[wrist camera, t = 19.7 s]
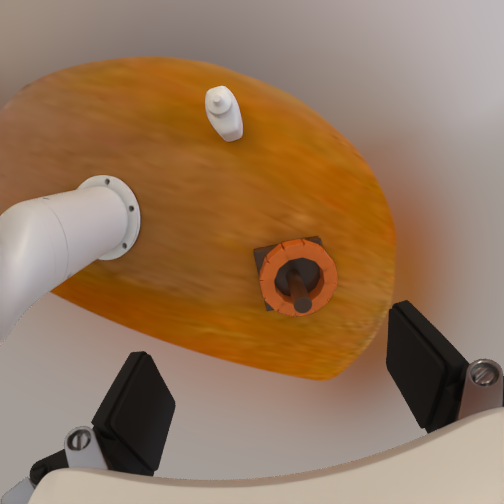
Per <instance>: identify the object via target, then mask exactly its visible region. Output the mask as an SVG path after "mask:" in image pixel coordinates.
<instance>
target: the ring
mask: <svg viewBox="0 0 504 504" xmlns="http://www.w3.org/2000/svg"><path fill="white" fill-rule="evenodd" d="M282 244H283V246H282V245H281V244H279V245H278V246H276V247H275V248H274V249H273V250H272V251H271V252H269V253H268V254H267V257H265V259H264V261H263V264H262V267H261V270H260V275H259V278H260V285H261V290H262V294H263V298H264V300H265V301H266V302H267V303H268V304H269V305H270V306H271V307H272V308H273V309H274V310H275V311H277V310H278V313H282V314H286V315H290V316H293V317H294V316H295V314H296V317H298V316H302V315H307V314H312V313H313V311H314V312H316V311H318V310H319V309H320V308H321V307H323V306H324V305H325V304H327V303H328V302H329V301H328V299H329V300H330V299H331V297H332V295H333V293H334V290H335V288H336V286H337V282H338V280H337V270H336V265H335V263H334V262H333V260H332V259H331V258H330V257H329V255H328V254H327V253H326V252H325V250H324V249H323V248H322V247H321V246H319V245H318V244H316V243H313V242H310V241H307V240H304V239H302V241H301V240H300V239H296V240H291V241H286V242H282ZM302 257H303V258H306V259H309V260H312V261H315V262H316V263H317V264H318V265H319V268H320V275H321V277H320V279H319V282H318V284H317V286H316V288H314V289H313V290H312V291H311V292H310V293H308V294H309V297H310V299H311V301H312V307H311V309H310V310H309V311H308V312H306V313H298V312H297V311H296V310H295V309H294V305H293V302H292V298H291V296H287V295H284V294H282V293H281V292H280V291H279V289H278V288H277V287H276V286H275V283H274V280H275V277H276V275H277V272H278V269H279V268H280V267H281V266H283V265H284V264H285V263H286V262H287V261H289V260H293V259H298V258H302Z"/></svg>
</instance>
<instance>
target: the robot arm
mask: <svg viewBox="0 0 504 504" xmlns="http://www.w3.org/2000/svg"><path fill="white" fill-rule="evenodd" d="M109 180H110V183H109ZM133 207H134V209H133ZM139 230H140V210H139V206H138V203H137V200H136V198H135V196H134V194H133V192H132V191H131V189H130V188H129V187H128V186H127V185H126V184H125V183H124V182H122V181H121V180H120V179H118V178H115V177H113V176H108V175H100V176H94V177H91V178H89V179H87V180H86V181H84V182H83V183H82V184H81V185H80V186H79V187H78V188H77V190H74V191H69V192H64V193H59V194H54V195H49V196H45V197H40V198H36V199H32V200H27V201H23V202H20V203H17V204H15V205H13V206H12V207H10V208H9V209H7V210H6V211H5V212H4V213H3V214H2V215H1V216H0V346H1V344H2V343H3V342H4V340H5V339H6V338H7V336H8V335H9V334H10V332H11V331H12V329H13V328H14V326H15V325H16V323H17V322H18V321H19V320H20V318H21V317H22V315H24V313H25V312H26V311H27V310H28V309H29V308H30V307H31V306H32V305H33V304H34V303H35V302H37V301H38V300H39V299H40V298H41V297H43V296H44V295H45V294H47V293H48V292H49V291H51V290H52V289H53V288H55V287H56V286H58V285H59V284H61V283H62V282H64V281H65V280H67V279H68V278H69V277H71V276H72V275H74V274H75V273H77V272H78V271H80V270H81V269H83V268H84V267H86V266H87V265H89V264H90V263H92V262H93V261H95V260H96V259H100V260H112V259H116V258H118V257H120V256H122V255H123V254H125V253H126V252H127V251H128V250H129V249H130V248H131V247H132V246H133V244H134V243H135V241H136V239H137V236H138V233H139ZM126 244H127V245H126ZM386 365H387V369H388V371H389V373H390V374H391V376H392V378H393V380H394V381H395V383H396V385H397V386H398V388H399V390H400V391H401V394H402V395H403V397H404V399H405V401H406V402H407V404H408V406H409V408H410V410H411V411H412V413H413V415H414V417H415V419H416V421H417V422H418V424H419V426H420V427H421V428H425V429H426V431H427V433H428V434H427V435H425V436H422V437H420V438H418V439H415V440H413V441H411V442H408V443H405V444H403V445H401V446H397V447H395V448H392V449H389V450H387V451H384V452H381V453H378V454H375V455H372V456H369V457H365V458H362V459H359V460H355V461H351V462H348V463H344V464H340V465H336V466H332V467H327V468H323V469H319V470H313V471H308V472H303V473H296V474H290V475H283V476H275V477H266V478H255V479H240V480H187V479H171V478H161V477H153V475H154V471H156V470H157V469H158V467H159V464H160V460H161V456H162V453H163V449H164V445H165V442H166V438H167V434H168V431H169V427H170V424H171V421H172V417H173V414H174V410H175V401H174V399H173V397H172V395H171V393H170V391H169V390H168V388H167V386H166V384H165V382H164V380H163V378H162V377H161V375H160V373H159V371H158V369H157V367H156V365H155V363H154V361H153V359H152V357H151V356H150V355H149V354H147V353H146V352H144V351H142V352H132V353H130V355H129V356H128V358H127V360H126V361H125V364H124V365H123V367H122V368H121V370H120V372H119V373H118V375H117V377H116V379H115V380H114V382H113V384H112V385H111V387H110V389H109V391H108V393H107V394H106V396H105V398H104V400H103V402H102V403H101V405H100V407H99V409H98V411H97V412H96V414H95V416H94V418H93V420H92V422H91V423H92V424H93V425H94V427H93V429H91V428H90V427H87V426H80V427H76V428H75V429H73V430H71V431H70V432H69V433H68V434H67V436H66V438H65V440H64V447H65V449H63V450H61V451H59V452H57V453H55V454H53V455H50V456H48V457H46V458H44V459H42V460H39V461H38V462H36V463H35V464H34V465H33V466H32V468H31V470H30V479H29V478H28V477H26V478H25V479H23V480H22V481H21V482H19V483H18V484H17V485H16V486H14V487H13V488H12V489H11V490H9V491H8V492H7V493H5V494H4V495H3V497H2V499H1V504H504V376H503V371H502V368H501V367H500V365H499V364H497V363H496V362H494V361H493V360H490V359H479V360H476V361H474V362H472V363H471V364H469V363H468V362H467V361H466V359H465V358H464V357H463V356H462V355H461V354H460V353H459V352H458V351H457V349H456V348H455V347H454V346H453V345H452V344H451V343H450V342H449V341H448V340H447V339H446V338H445V337H444V336H443V335H442V334H441V333H440V332H439V331H438V330H437V329H436V328H435V327H434V326H433V325H432V324H431V323H430V322H429V321H428V320H427V319H426V318H425V317H424V316H423V315H422V314H421V313H420V312H419V311H418V310H417V309H416V308H415V307H414V306H413V305H412V304H411V303H410V302H409V301H408V300H405V301H402V302H399V303H395V304H394V305H393V306H392V309H390V310H389V322H388V343H387V357H386ZM437 429H438V430H437ZM435 430H436V431H435ZM433 431H434V432H433ZM431 432H432V433H431Z"/></svg>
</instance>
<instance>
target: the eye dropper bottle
mask: <svg viewBox="0 0 504 504" xmlns="http://www.w3.org/2000/svg"><path fill="white" fill-rule="evenodd" d="M205 108H206V113H207V116H208V119H209V121H210V123H211V124H212V126H213V127H214V129H215V130H216V131H217V132H218V134H219V135H220V136H221V137H222V138H223V139H224V140H225V141H227V142H230V141H234V140H237V139H240V138H241V137H242V133H243V124H242V118H241V114H240V110H239V106H238V103H237V101H236V99H235V97H234V95H233V94H232V93H231V91H230V90H229V89H228V88H226V87H225V86H219V87H215V88H212V89H210V90H208V91H207V93H206V98H205Z"/></svg>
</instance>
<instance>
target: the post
mask: <svg viewBox="0 0 504 504" xmlns="http://www.w3.org/2000/svg"><path fill="white" fill-rule="evenodd" d="M300 240H301V241H302V239H300ZM304 240H307V241H310V242H313V243H316V244H318V245H319V246H321V240H320V238H319V237H318V236H315V237H310V238H305V239H304ZM278 245H279V244H276V245H271V246H267V247H262V248H257V249H254V256H255V261H256V265H257V270H258V274H259V275H260V270H261V267H262V264H263V261H264V259H265V257H267V254H268V253H269V252H271V251H272V250H273V249H274V248H275V247H276V246H278ZM281 245H282V246H283V244H282V243H281ZM320 277H321V275H320V268H319V265H318V264H317V263H316V262H315V261H312V260H309V259H306V258H303V257H302V258H298V259H293V260H289V261H287V262H286V263H285V264H284V265H283V266H281V267H280V268H279V269H278V272H277V275H276V277H275V280H274V283H275V286H276V287H277V288H278V289H279V291H280V292H281V293H282V294H284V295H287V296H291V298H292V302H293V305H294V309H295V310H296V311H297V312H298V313H306V312H308V311H309V310H310V309H311V307H312V301H311V299H310V297H309V294H308V293H310V292H311V291H312V290H313V289H314V288H316V286H317V284H318V282H319V279H320ZM259 279H260V278H259ZM264 301H265V300H264ZM265 305H266V309H267V311H271V310H274V309H273V308H272V307H271V306H270V305H269V304H268V303H267V302H266V301H265Z"/></svg>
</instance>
